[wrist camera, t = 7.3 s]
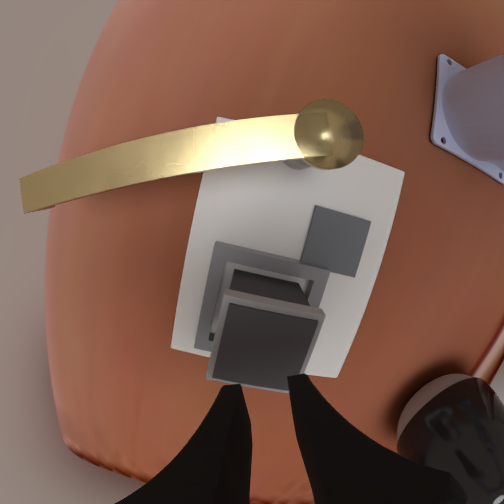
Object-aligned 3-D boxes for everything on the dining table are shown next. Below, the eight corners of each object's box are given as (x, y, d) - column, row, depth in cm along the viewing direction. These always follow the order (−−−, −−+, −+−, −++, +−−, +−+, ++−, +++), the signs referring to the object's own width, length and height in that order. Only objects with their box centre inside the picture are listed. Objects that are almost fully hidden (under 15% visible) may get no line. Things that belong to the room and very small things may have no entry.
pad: (368, 220, 17) (371, 221, 17) (352, 275, 18) (354, 277, 18) (315, 205, 17) (316, 205, 17) (299, 263, 18) (300, 265, 17)
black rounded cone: (362, 436, 23) (412, 563, 8) (422, 349, 21) (529, 472, 6) (430, 437, 24) (485, 530, 9) (483, 363, 22) (568, 446, 7)
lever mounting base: (397, 172, 18) (460, 171, 11) (333, 370, 21) (359, 431, 14) (218, 120, 17) (203, 85, 10) (173, 340, 20) (147, 402, 13)
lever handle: (351, 168, 12) (367, 166, 10) (47, 219, 12) (25, 224, 10) (342, 109, 11) (357, 99, 9) (41, 168, 11) (18, 167, 10)
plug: (304, 279, 18) (326, 317, 13) (284, 343, 19) (296, 396, 14) (230, 262, 18) (223, 296, 12) (215, 329, 19) (205, 380, 13)
